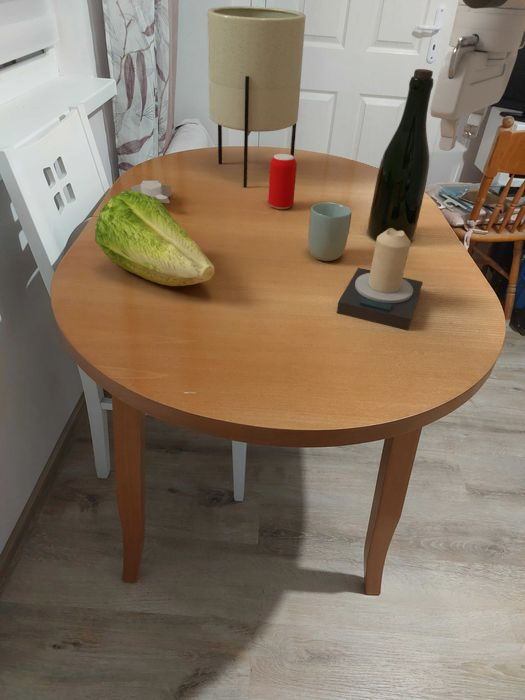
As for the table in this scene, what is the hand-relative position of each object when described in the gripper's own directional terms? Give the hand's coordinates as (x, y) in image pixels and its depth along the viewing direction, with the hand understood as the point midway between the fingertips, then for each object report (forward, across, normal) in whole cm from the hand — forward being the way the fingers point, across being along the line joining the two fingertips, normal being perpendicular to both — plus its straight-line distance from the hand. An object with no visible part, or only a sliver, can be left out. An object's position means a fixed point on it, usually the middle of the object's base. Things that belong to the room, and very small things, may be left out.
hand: (457, 143), depth 76 cm
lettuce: (+27, -24, +39) cm, 53 cm away
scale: (+27, -4, +5) cm, 28 cm away
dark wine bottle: (+27, +24, +17) cm, 40 cm away
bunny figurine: (+27, 0, +68) cm, 74 cm away
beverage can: (+27, +21, +45) cm, 57 cm away
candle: (+24, -3, +5) cm, 25 cm away
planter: (+27, +35, +66) cm, 79 cm away
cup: (+27, +4, +22) cm, 35 cm away
